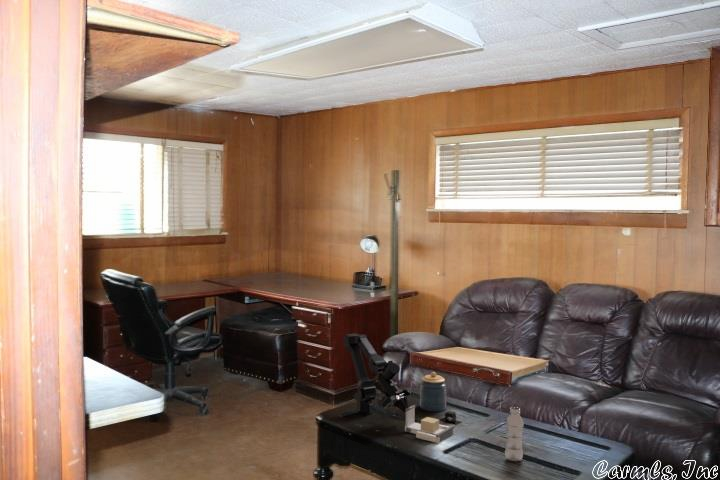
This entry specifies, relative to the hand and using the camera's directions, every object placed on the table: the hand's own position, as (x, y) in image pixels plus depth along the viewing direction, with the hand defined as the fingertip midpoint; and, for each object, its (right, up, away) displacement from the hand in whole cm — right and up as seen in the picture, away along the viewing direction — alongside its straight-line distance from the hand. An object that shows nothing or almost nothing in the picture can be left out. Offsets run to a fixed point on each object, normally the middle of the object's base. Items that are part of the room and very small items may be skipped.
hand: (408, 414), depth 262 cm
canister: (+14, -6, +31) cm, 34 cm away
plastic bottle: (+38, -8, -33) cm, 51 cm away
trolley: (+7, -7, -4) cm, 11 cm away
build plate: (+20, -7, +11) cm, 24 cm away
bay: (+11, -7, -7) cm, 15 cm away
